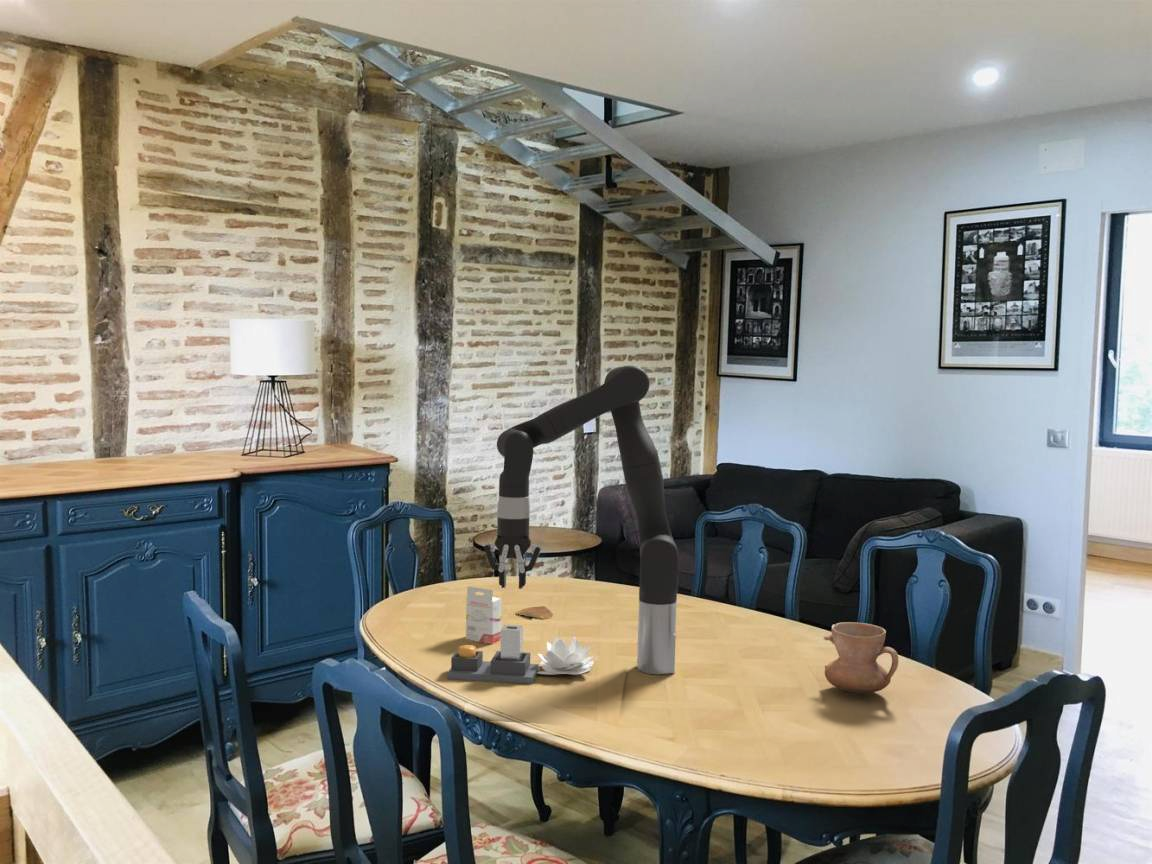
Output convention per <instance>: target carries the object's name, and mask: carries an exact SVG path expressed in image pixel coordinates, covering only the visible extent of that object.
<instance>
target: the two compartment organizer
mask: <svg viewBox="0 0 1152 864" xmlns="http://www.w3.org/2000/svg"><path fill="white" fill-rule="evenodd" d="M483 654H484V653H483V651H482V650H481V651H480V650H476V657H475V658H468V657H459V649H457V650H455V653H453V655H451V657H450V658H451V660H450V661H451V664H450V666H451V667H450V669H449V670H448V671H447V679H448V680H460V681H461V680H462V681H477V682H478V681H479V682H493V683H495V682H496V683H511V684H512V683H513V684H530V685H533V684H534V681H535V680H536V677H537V675H538V674H537V672H540V669H539V668H540V664H539V663H538V664H537V663H531V652H525V651H523V655H522V662H517V661H500V660H501V650H497V651H496V652H495V654H494V655H493V657H492V658H491V660H490V661H489V660H488V661H486V660H483V659H484V658H483V656H484V655H483Z"/></svg>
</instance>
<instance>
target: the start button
mask: <svg viewBox="0 0 1152 864" xmlns="http://www.w3.org/2000/svg"><path fill="white" fill-rule="evenodd" d="M476 648H477V647H476V645H473V644H472V645H471V644H464V645H460V646H458V650H459V657H468V658H475V657H476V651H477V649H476Z"/></svg>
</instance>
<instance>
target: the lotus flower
mask: <svg viewBox="0 0 1152 864" xmlns="http://www.w3.org/2000/svg"><path fill="white" fill-rule="evenodd" d="M545 647H546V653H545V655H544V654H542V653H537V656H538V657H539V659H540V660H541V661H540V666H541V668H542V669H543V670H542V671H538V672H537V675H554V676H555V675H563V674H564V675H565V674H566V675H570V676H577V675H581V674H585V673H588V672H591V667H592V666H593V665H594V663H595V661H594V660H593V659H594V658H595V656H594V655H593V656H588V655H589V651H590V647H591V646H590V645H588V646H585V647H582V645H581V643H580V642H579V641H578V640H577V639H576V636H573V637H572V638H571V640H570V643H568V644H566V642H565V641H564V640H563V639H562V638H560V637H558V636H555V637H554V638H553V641H552V643H550V642H549V641H546V645H545ZM587 656H588V657H587Z"/></svg>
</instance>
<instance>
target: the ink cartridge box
mask: <svg viewBox="0 0 1152 864" xmlns="http://www.w3.org/2000/svg"><path fill="white" fill-rule="evenodd" d="M479 592H480V593H482V594H476V593H479ZM502 601H503V599H502V597H495V596H493V589H489V588H482V587H474V586H467V592H466V601H465V603H466V607H465V608H466V609H465V611H466V612H465V613H466V614H465V640H468V639H470V640H469V641H473V640H474V641H473V642H478V641H480V642H479V643H482V642H485V643H484V644H487V643H489V644H488V645H494V644H496V643H498V642H501V629H502V627H503V625H502V621H503V620H502V615H503V614H502V612H503V611H502V608H503V606H502V604H503V603H502ZM497 641H498V642H497ZM493 643H494V644H493Z"/></svg>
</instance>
